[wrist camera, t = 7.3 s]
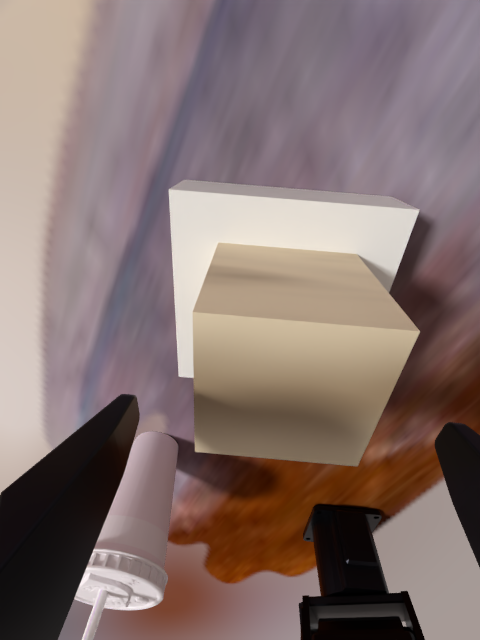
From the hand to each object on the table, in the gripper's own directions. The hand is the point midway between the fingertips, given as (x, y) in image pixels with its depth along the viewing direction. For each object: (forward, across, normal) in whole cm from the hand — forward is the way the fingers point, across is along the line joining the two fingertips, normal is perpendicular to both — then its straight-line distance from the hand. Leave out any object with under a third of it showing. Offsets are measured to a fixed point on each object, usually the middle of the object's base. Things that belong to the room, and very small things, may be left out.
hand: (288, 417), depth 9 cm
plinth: (+10, 0, 0) cm, 10 cm away
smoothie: (+10, +8, +16) cm, 21 cm away
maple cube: (+7, 0, 0) cm, 7 cm away
